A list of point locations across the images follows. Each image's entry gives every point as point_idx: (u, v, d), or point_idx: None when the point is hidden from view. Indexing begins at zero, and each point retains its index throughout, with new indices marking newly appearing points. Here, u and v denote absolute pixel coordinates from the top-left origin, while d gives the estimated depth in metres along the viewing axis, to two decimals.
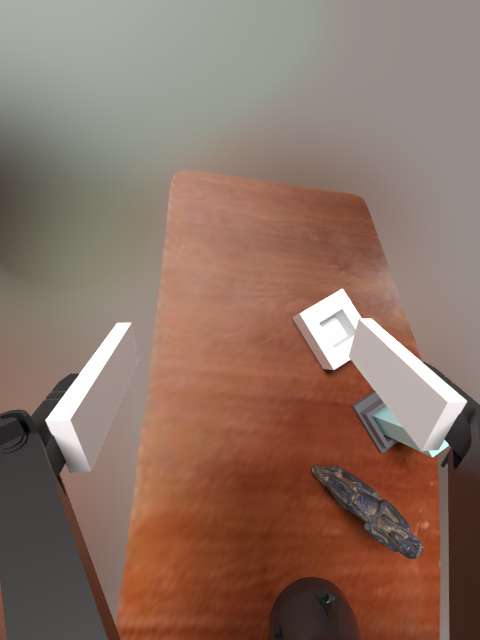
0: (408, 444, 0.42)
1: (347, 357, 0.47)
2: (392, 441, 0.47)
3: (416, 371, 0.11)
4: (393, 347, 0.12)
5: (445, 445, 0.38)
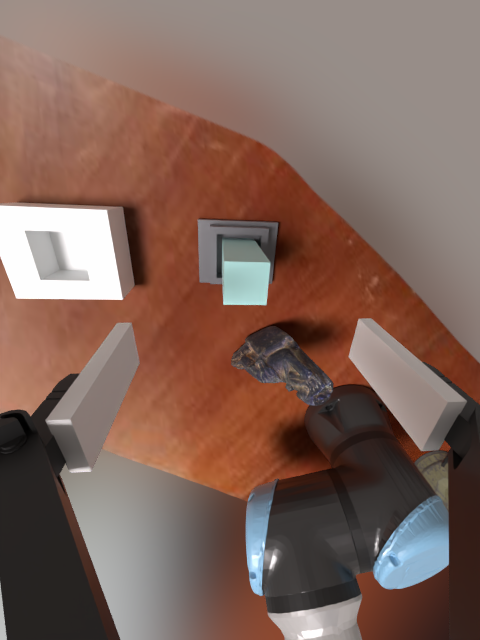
0: None
1: (112, 271, 0.29)
2: None
3: (416, 371, 0.11)
4: (393, 347, 0.12)
5: (266, 276, 0.23)
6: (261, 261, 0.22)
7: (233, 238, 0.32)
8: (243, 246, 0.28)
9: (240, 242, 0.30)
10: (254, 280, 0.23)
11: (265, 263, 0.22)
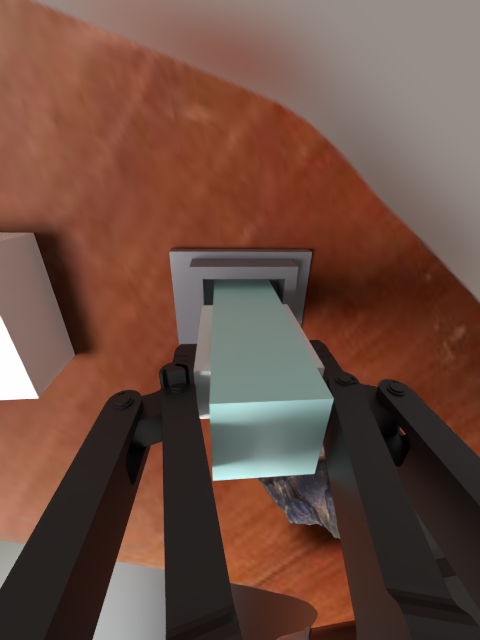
0: None
1: (8, 356, 0.16)
2: None
3: None
4: None
5: (319, 425, 0.09)
6: (308, 392, 0.08)
7: (233, 281, 0.18)
8: (253, 310, 0.14)
9: (247, 295, 0.16)
10: (288, 435, 0.09)
11: (320, 401, 0.08)
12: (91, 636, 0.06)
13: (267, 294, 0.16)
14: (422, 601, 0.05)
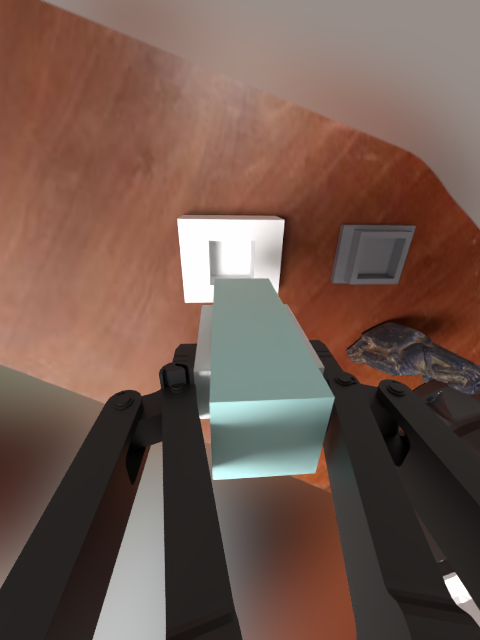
0: None
1: (274, 275, 0.32)
2: (398, 272, 0.35)
3: None
4: None
5: (320, 424, 0.09)
6: (309, 391, 0.08)
7: (233, 280, 0.18)
8: (254, 309, 0.14)
9: (247, 294, 0.16)
10: (289, 434, 0.09)
11: (321, 400, 0.08)
12: (91, 636, 0.06)
13: (267, 293, 0.16)
14: (422, 601, 0.05)
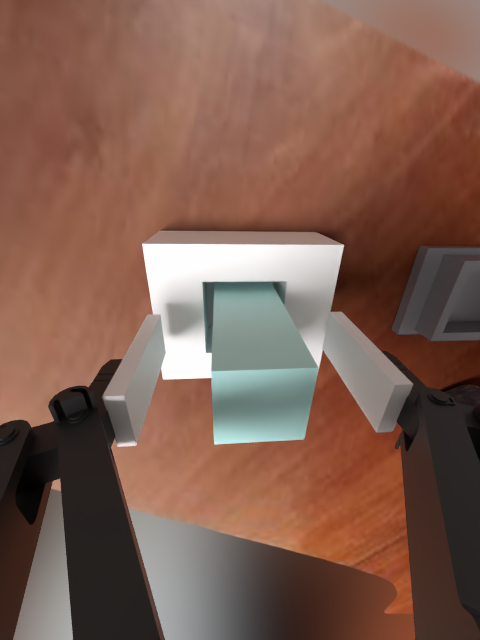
0: None
1: (317, 336, 0.18)
2: None
3: (373, 358, 0.11)
4: (356, 337, 0.13)
5: (307, 393, 0.10)
6: (297, 363, 0.10)
7: None
8: (251, 299, 0.15)
9: (245, 285, 0.17)
10: (280, 402, 0.10)
11: (307, 370, 0.10)
12: None
13: (264, 285, 0.17)
14: None
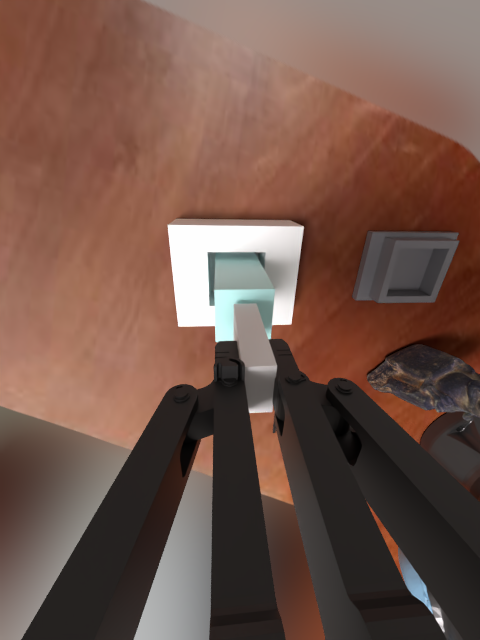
0: None
1: (289, 294, 0.26)
2: (436, 288, 0.29)
3: (256, 344, 0.12)
4: (253, 326, 0.14)
5: (269, 306, 0.17)
6: (263, 287, 0.17)
7: None
8: (240, 262, 0.23)
9: (237, 256, 0.25)
10: None
11: (268, 290, 0.17)
12: (139, 617, 0.06)
13: (250, 256, 0.25)
14: (381, 600, 0.05)
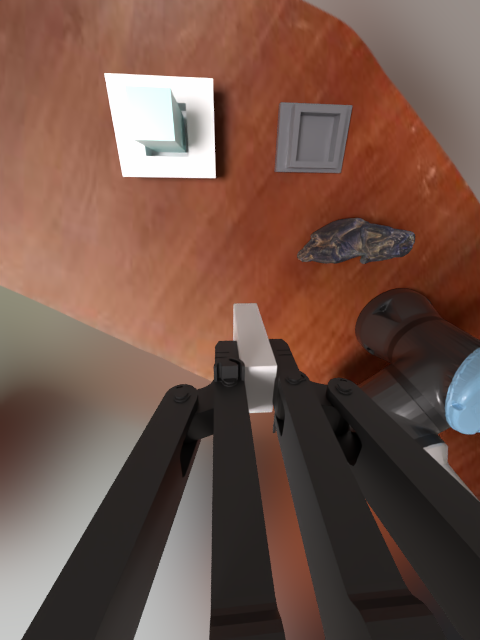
0: (176, 146, 0.29)
1: (210, 146, 0.32)
2: (336, 154, 0.36)
3: (256, 344, 0.12)
4: (253, 326, 0.14)
5: (169, 105, 0.24)
6: None
7: None
8: None
9: None
10: (158, 110, 0.24)
11: (165, 89, 0.23)
12: (139, 617, 0.06)
13: None
14: (381, 600, 0.05)
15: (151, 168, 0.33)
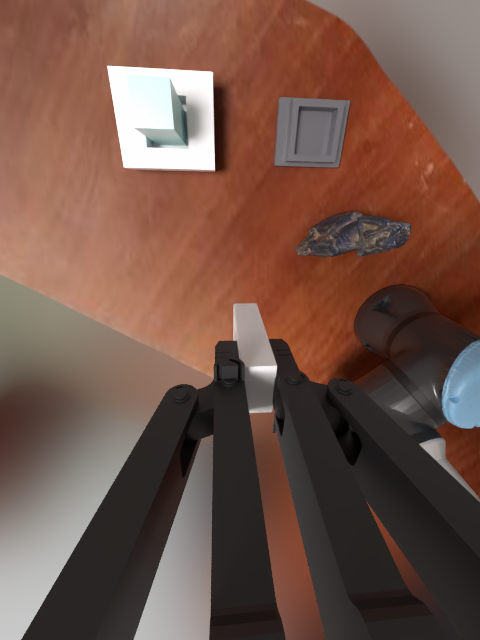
0: (176, 136, 0.30)
1: (209, 138, 0.33)
2: (334, 148, 0.36)
3: (256, 344, 0.12)
4: (253, 326, 0.14)
5: (168, 94, 0.25)
6: None
7: None
8: None
9: None
10: (157, 99, 0.25)
11: (165, 78, 0.24)
12: (139, 617, 0.06)
13: None
14: (381, 600, 0.05)
15: (151, 159, 0.34)
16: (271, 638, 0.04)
